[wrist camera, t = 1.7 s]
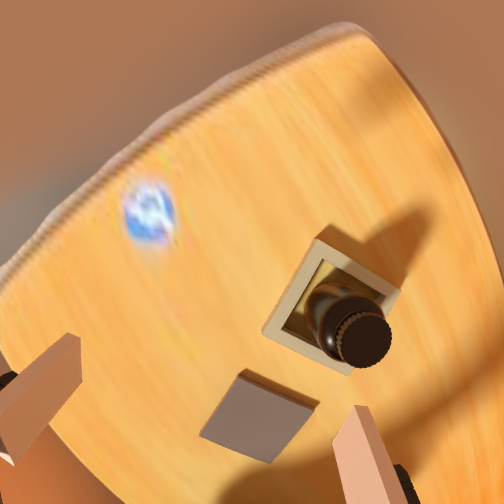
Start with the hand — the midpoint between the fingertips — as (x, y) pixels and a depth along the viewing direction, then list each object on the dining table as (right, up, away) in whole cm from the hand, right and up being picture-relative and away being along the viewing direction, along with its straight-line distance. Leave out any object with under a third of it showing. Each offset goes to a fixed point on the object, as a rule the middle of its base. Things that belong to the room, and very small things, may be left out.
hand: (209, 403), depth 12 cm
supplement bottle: (+11, 0, +23) cm, 25 cm away
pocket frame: (+11, 0, +22) cm, 25 cm away
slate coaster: (+2, -16, +23) cm, 28 cm away
